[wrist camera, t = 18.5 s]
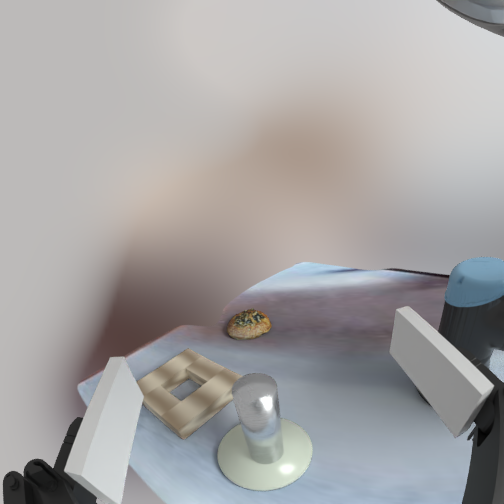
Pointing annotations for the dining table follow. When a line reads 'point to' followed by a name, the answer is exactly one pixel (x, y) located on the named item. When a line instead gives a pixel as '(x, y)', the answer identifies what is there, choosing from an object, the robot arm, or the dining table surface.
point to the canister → (259, 416)
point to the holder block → (196, 404)
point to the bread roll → (248, 325)
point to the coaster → (265, 475)
